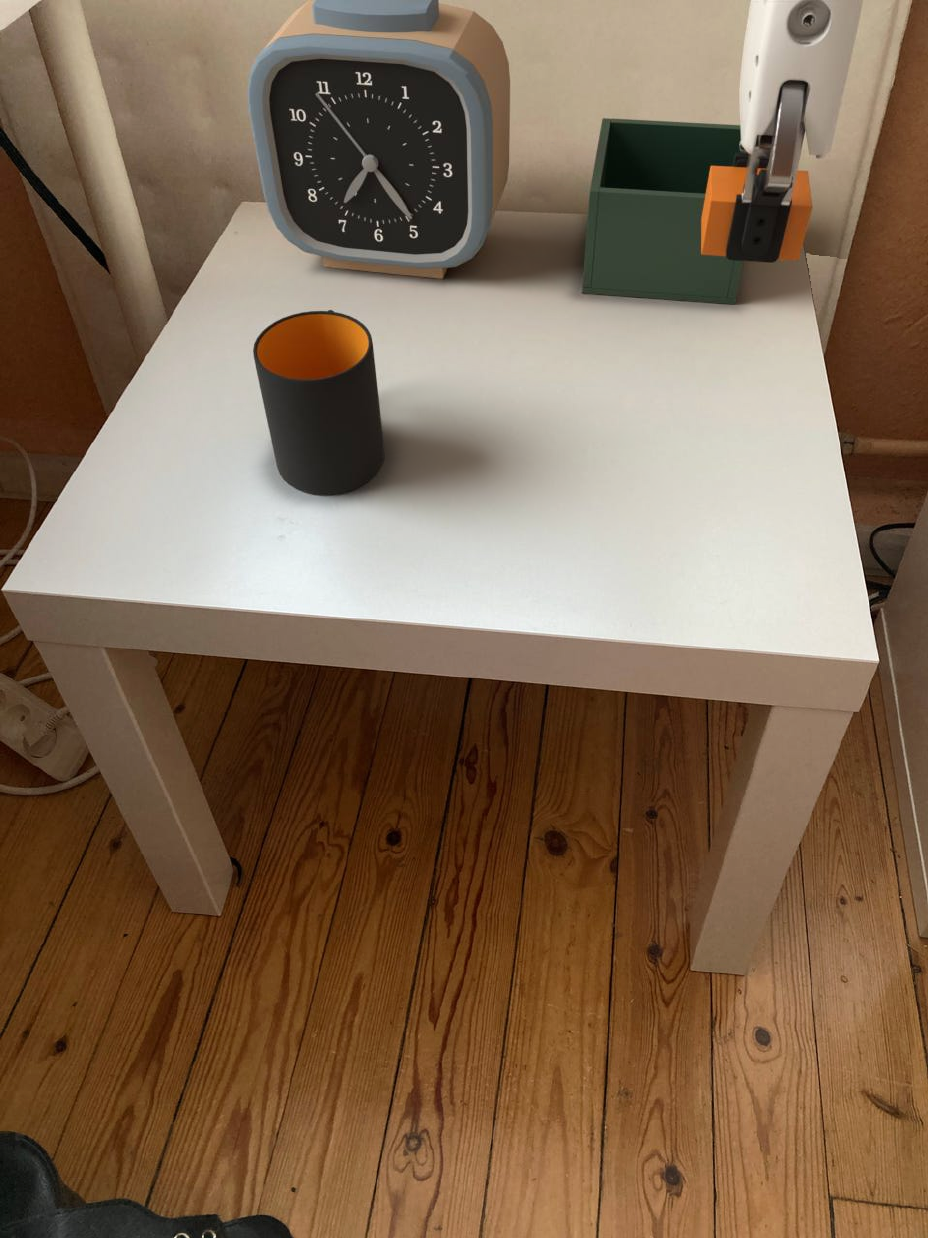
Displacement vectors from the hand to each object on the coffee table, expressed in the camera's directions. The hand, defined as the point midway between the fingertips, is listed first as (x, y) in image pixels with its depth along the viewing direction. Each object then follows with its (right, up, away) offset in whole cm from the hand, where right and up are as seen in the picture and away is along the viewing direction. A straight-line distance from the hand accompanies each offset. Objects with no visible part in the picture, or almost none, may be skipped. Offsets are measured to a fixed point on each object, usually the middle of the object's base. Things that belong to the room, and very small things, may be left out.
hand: (750, 234), depth 65 cm
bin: (0, +9, +31) cm, 32 cm away
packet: (0, 0, 0) cm, 0 cm away
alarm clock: (-25, +10, +33) cm, 42 cm away
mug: (-28, -11, +15) cm, 34 cm away
